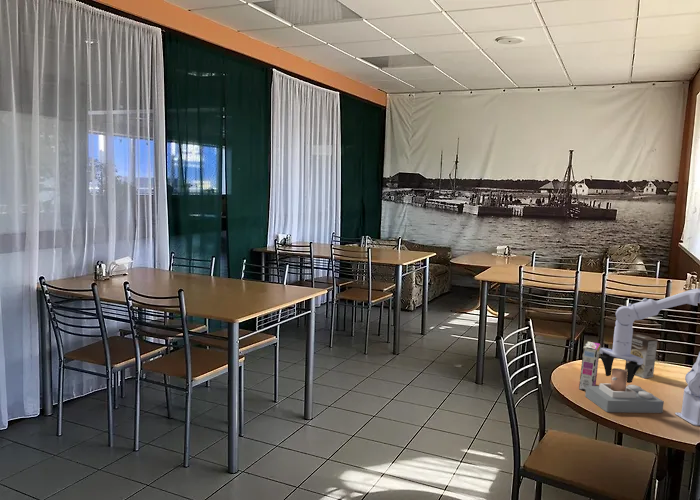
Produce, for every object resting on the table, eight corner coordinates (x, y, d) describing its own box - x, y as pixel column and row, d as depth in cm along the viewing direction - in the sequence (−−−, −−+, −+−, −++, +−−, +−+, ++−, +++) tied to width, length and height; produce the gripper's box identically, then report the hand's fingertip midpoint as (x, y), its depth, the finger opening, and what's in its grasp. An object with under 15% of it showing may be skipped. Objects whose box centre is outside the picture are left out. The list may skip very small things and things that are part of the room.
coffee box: (623, 371, 229) (627, 334, 228) (634, 370, 232) (638, 333, 230) (643, 378, 221) (647, 339, 219) (654, 377, 224) (658, 338, 222)
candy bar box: (593, 392, 202) (597, 349, 200) (578, 389, 204) (582, 347, 203) (596, 384, 211) (600, 343, 210) (582, 381, 214) (586, 340, 212)
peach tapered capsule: (627, 393, 190) (629, 371, 190) (618, 396, 186) (620, 374, 186) (614, 389, 194) (616, 367, 194) (604, 392, 190) (606, 370, 189)
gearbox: (662, 412, 185) (664, 395, 185) (606, 412, 184) (608, 394, 183) (637, 397, 199) (639, 381, 199) (585, 396, 197) (586, 380, 197)
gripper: (649, 344, 185) (645, 383, 186) (609, 334, 197) (605, 371, 198) (638, 347, 181) (634, 386, 182) (597, 336, 193) (594, 373, 194)
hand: (618, 378), depth 190 cm, fingers open, 7 cm apart
